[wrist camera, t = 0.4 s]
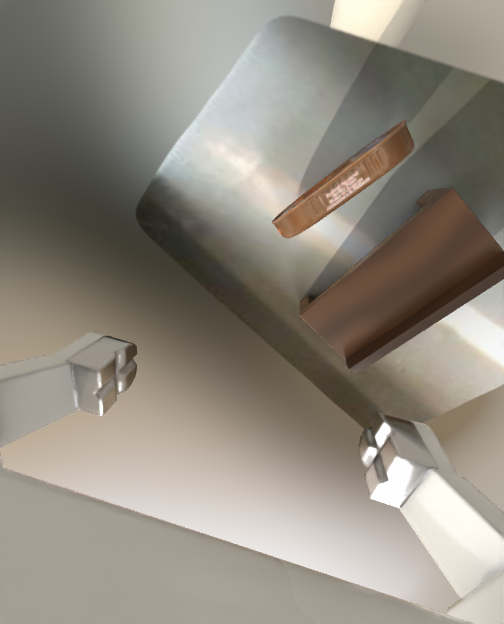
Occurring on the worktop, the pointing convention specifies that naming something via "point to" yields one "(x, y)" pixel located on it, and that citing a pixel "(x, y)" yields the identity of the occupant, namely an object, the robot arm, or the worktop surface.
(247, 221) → the worktop surface
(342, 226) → the worktop surface
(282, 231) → the tin
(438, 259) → the shelf
